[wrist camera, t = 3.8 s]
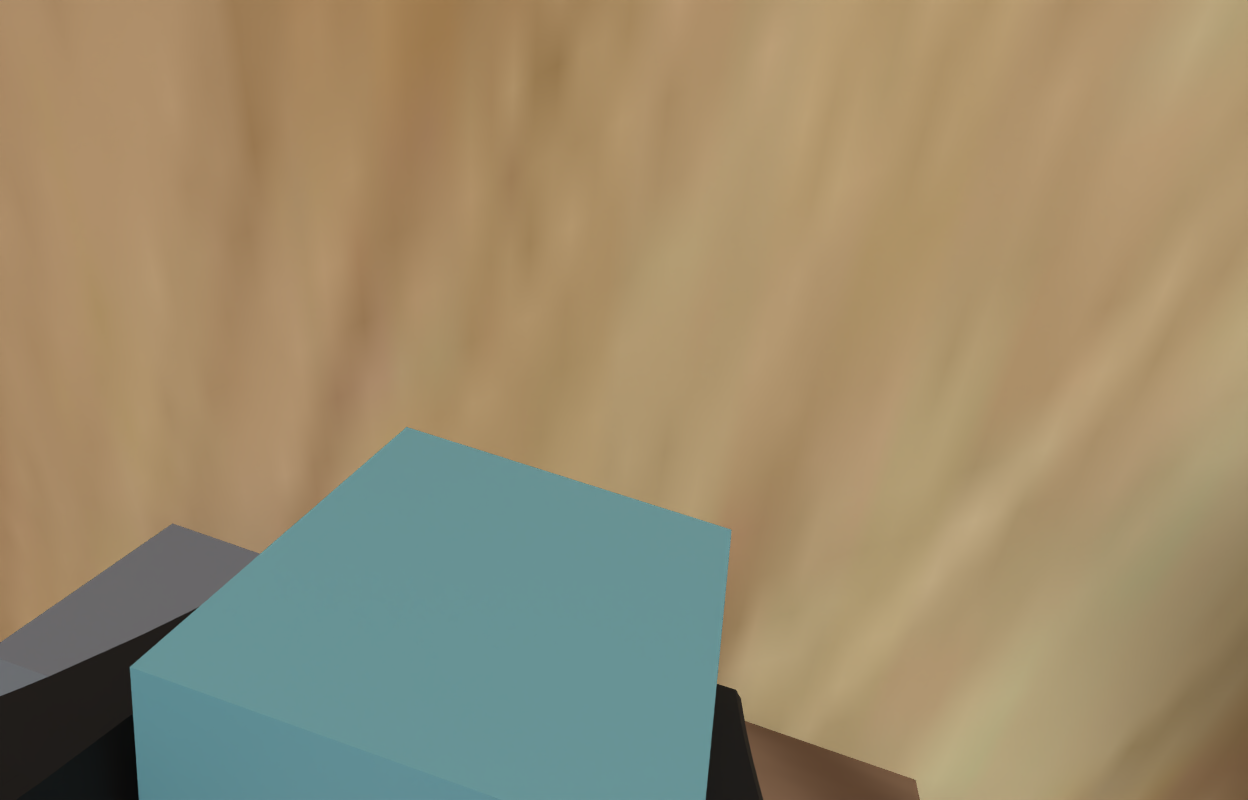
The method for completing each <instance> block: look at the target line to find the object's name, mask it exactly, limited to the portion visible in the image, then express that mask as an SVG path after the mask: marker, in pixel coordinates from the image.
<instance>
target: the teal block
mask: <svg viewBox="0 0 1248 800" xmlns="http://www.w3.org/2000/svg"><path fill="white" fill-rule="evenodd" d="M730 540H731V530H730V529H727V528H724V527H721V526H718V525H715V524H711V523H708V522H705V521H702V520H699V519H696V518H693V517H689V516H686V515H683V514H680V513H677V512H674V511H670V510H667V509H664V508H661V507H658V506H655V505H651V504H648V503H645V502H642V501H639V500H636V499H632V498H629V497H626V496H623V495H620V494H617V493H613V492H610V491H607V490H604V489H601V488H598V487H595V486H591V485H588V484H585V483H582V482H579V481H576V480H572V479H569V478H566V477H563V476H560V475H557V474H553V473H550V472H547V471H544V470H541V469H538V468H534V467H531V466H528V465H525V464H522V463H519V462H515V461H512V460H509V459H506V458H503V457H500V456H496V455H493V454H490V453H487V452H484V451H481V450H478V449H474V448H471V447H468V446H465V445H462V444H459V443H455V442H452V441H449V440H446V439H443V438H440V437H436V436H433V435H430V434H427V433H424V432H421V431H417V430H414V429H411V428H408V427H406V428H405V429H404V430H403V431H402V432H400V433H399V434H398V435H397V436H396V437H395V438H393V439H392V440H391V441H390V442H389V443H388V444H387V445H385V446H384V447H383V448H382V449H381V450H380V451H378V452H377V453H376V454H375V455H374V456H373V457H372V458H370V459H369V460H368V461H367V462H366V463H365V464H363V465H362V466H361V467H360V468H359V469H358V470H357V471H355V472H354V473H353V474H352V475H351V476H350V477H348V478H347V479H346V480H345V481H344V482H343V483H342V484H340V485H339V486H338V487H337V488H336V489H335V490H333V491H332V492H331V493H330V494H329V495H328V496H327V497H325V498H324V499H323V500H322V501H321V502H320V503H318V504H317V505H316V506H315V507H314V508H313V509H312V510H310V511H309V512H308V513H307V514H306V515H305V516H303V517H302V518H301V519H300V520H299V521H298V522H297V523H295V524H294V525H293V526H292V527H291V528H290V529H288V530H287V531H286V532H285V533H284V534H283V535H282V536H280V537H279V538H278V539H277V540H276V541H275V542H273V543H272V544H271V545H270V546H269V547H268V548H267V549H265V550H264V551H263V552H262V553H261V554H260V555H258V556H257V557H256V558H255V559H254V560H253V561H252V562H250V563H249V564H248V565H247V566H246V567H245V568H243V569H242V570H241V571H240V572H239V573H238V574H237V575H235V576H234V577H233V578H232V579H231V580H230V581H228V582H227V583H226V584H225V585H224V586H223V587H222V588H220V589H219V590H218V591H217V592H216V593H215V594H213V595H212V596H211V597H210V598H209V599H208V600H207V601H205V602H204V603H203V604H202V605H201V606H200V607H198V608H197V609H196V610H195V611H194V612H193V613H192V614H190V615H189V616H188V617H187V618H186V619H185V620H183V621H182V622H181V623H180V624H179V625H178V626H177V627H175V628H174V629H173V630H172V631H171V632H170V633H168V634H167V635H166V636H165V637H164V638H163V639H162V640H160V641H159V642H158V643H157V644H156V645H155V646H153V647H152V648H151V649H150V650H149V651H148V652H147V653H145V654H144V655H143V656H142V657H141V658H140V659H138V660H137V661H136V662H135V663H134V664H133V665H132V666H130V677H131V691H132V706H133V720H134V735H135V750H136V764H137V779H138V793H139V800H706V790H707V780H708V769H709V759H710V748H711V738H712V728H713V717H714V707H715V696H716V686H717V676H718V665H719V655H720V644H721V634H722V623H723V613H724V603H725V592H726V582H727V571H728V561H729V550H730Z"/></svg>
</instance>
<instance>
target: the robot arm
mask: <svg viewBox="0 0 1248 800" xmlns="http://www.w3.org/2000/svg"><path fill="white" fill-rule="evenodd" d="M196 609H197V608H196ZM196 609H194V610H192V611H190V612H188V613H185V614H183V615H181V616H179V617H177V618H175V619H173V620H171V621H169V622H167V623H165V624H163V625H161V626H159V627H157V628H155V629H153V630H151V631H149V632H147V633H145V634H142V635H140V636H138V637H136V638H134V639H131V640H129V641H127V642H125V643H122V644H120V645H118V646H116V647H113V648H111V649H109V650H107V651H105V652H102V653H100V654H98V655H96V656H93V657H91V658H89V659H87V660H84V661H82V662H80V663H78V664H76V665H73V666H71V667H69V668H67V669H64V670H62V671H60V672H58V673H55V674H53V675H51V676H49V677H46V678H44V679H41V680H39V681H37V682H34V683H32V684H29V685H27V686H24V687H22V688H19V689H17V690H14V691H12V692H9V693H7V694H4V695H2V696H0V800H139V793H138V779H137V764H136V750H135V735H134V720H133V706H132V691H131V677H130V666H132V665H133V664H134V663H135V662H136V661H137V660H138V659H140V658H141V657H142V656H143V655H144V654H145V653H147V652H148V651H149V650H150V649H151V648H152V647H153V646H155V645H156V644H157V643H158V642H159V641H160V640H162V639H163V638H164V637H165V636H166V635H167V634H168V633H170V632H171V631H172V630H173V629H174V628H175V627H177V626H178V625H179V624H180V623H181V622H182V621H183V620H185V619H186V618H187V617H188V616H189V615H190V614H192V613H193V612H194V611H195V610H196ZM706 800H763V797H762V793H761V789H760V785H759V781H758V777H757V773H756V770H755V766H754V762H753V757H752V753H751V749H750V744H749V740H748V735H747V730H746V725H745V720H744V715H743V709H742V703H741V698H740V696H739V695H738V693H737V691H736V690H735V689H731V688H728V687H725V686H722V685H719V684H717V686H716V696H715V707H714V717H713V728H712V738H711V748H710V759H709V769H708V780H707V790H706Z"/></svg>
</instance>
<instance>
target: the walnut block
mask: <svg viewBox="0 0 1248 800" xmlns="http://www.w3.org/2000/svg"><path fill="white" fill-rule="evenodd" d="M745 725H746V730H747V735H748V740H749V744H750V749H751V753H752V757H753V762H754V766H755V770H756V773H757V777H758V781H759V785H760V789H761V793H762V797H763V800H920V799H919V794H918V790H917V785H916V780H914V779H911V778H908V777H905V776H902V775H899V774H896V773H894V772H891V771H888V770H885V769H882V768H879V767H876V766H873V765H870V764H868V763H865V762H862V761H859V760H856V759H853V758H850V757H847V756H844V755H841V754H839V753H836V752H833V751H830V750H827V749H824V748H821V747H818V746H815V745H813V744H810V743H807V742H804V741H801V740H798V739H795V738H792V737H789V736H786V735H784V734H781V733H778V732H775V731H772V730H769V729H766V728H763V727H760V726H758V725H755V724H752V723H749V722H746V721H745Z"/></svg>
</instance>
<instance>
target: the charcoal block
mask: <svg viewBox="0 0 1248 800" xmlns="http://www.w3.org/2000/svg"><path fill="white" fill-rule="evenodd" d="M258 555H260V554H259V553H256V552H253V551H250V550H247V549H244V548H241V547H239V546H236V545H233V544H230V543H227V542H224V541H221V540H218V539H215V538H213V537H210V536H207V535H204V534H201V533H198V532H195V531H192V530H189V529H187V528H184V527H181V526H178V525H175V524H171V525H170V526H168V527H167V528H165V529H164V530H163V531H161V532H160V533H158V534H157V535H155V536H154V537H152V538H151V539H149V540H148V541H147V542H145V543H144V544H142V545H141V546H139V547H138V548H136V549H135V550H134V551H132V552H131V553H129V554H128V555H126V556H125V557H123V558H122V559H121V560H119V561H118V562H116V563H115V564H113V565H112V566H110V567H109V568H107V569H106V570H105V571H103V572H102V573H100V574H99V575H97V576H96V577H94V578H93V579H92V580H90V581H89V582H87V583H86V584H84V585H83V586H81V587H80V588H79V589H77V590H76V591H74V592H73V593H71V594H70V595H68V596H67V597H65V598H64V599H63V600H61V601H60V602H58V603H57V604H55V605H54V606H52V607H51V608H50V609H48V610H47V611H45V612H44V613H42V614H41V615H39V616H38V617H37V618H35V619H34V620H32V621H31V622H29V623H28V624H26V625H25V626H23V627H22V628H21V629H19V630H18V631H16V632H15V633H13V634H12V635H10V636H9V637H8V638H6V639H5V640H3V641H2V642H0V696H2V695H4V694H7V693H9V692H12V691H14V690H17V689H19V688H22V687H24V686H27V685H29V684H32V683H34V682H37V681H39V680H41V679H44V678H46V677H49V676H51V675H53V674H55V673H58V672H60V671H62V670H64V669H67V668H69V667H71V666H73V665H76V664H78V663H80V662H82V661H84V660H87V659H89V658H91V657H93V656H96V655H98V654H100V653H102V652H105V651H107V650H109V649H111V648H113V647H116V646H118V645H120V644H122V643H125V642H127V641H129V640H131V639H134V638H136V637H138V636H140V635H142V634H145V633H147V632H149V631H151V630H153V629H155V628H157V627H159V626H161V625H163V624H165V623H167V622H169V621H171V620H173V619H175V618H177V617H179V616H181V615H183V614H185V613H188V612H190V611H192V610H194V609H196V608H198V607H200V606H201V605H202V604H203V603H204V602H205V601H207V600H208V599H209V598H210V597H211V596H212V595H213V594H215V593H216V592H217V591H218V590H219V589H220V588H222V587H223V586H224V585H225V584H226V583H227V582H228V581H230V580H231V579H232V578H233V577H234V576H235V575H237V574H238V573H239V572H240V571H241V570H242V569H243V568H245V567H246V566H247V565H248V564H249V563H250V562H252V561H253V560H254V559H255V558H256V557H257V556H258Z"/></svg>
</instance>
